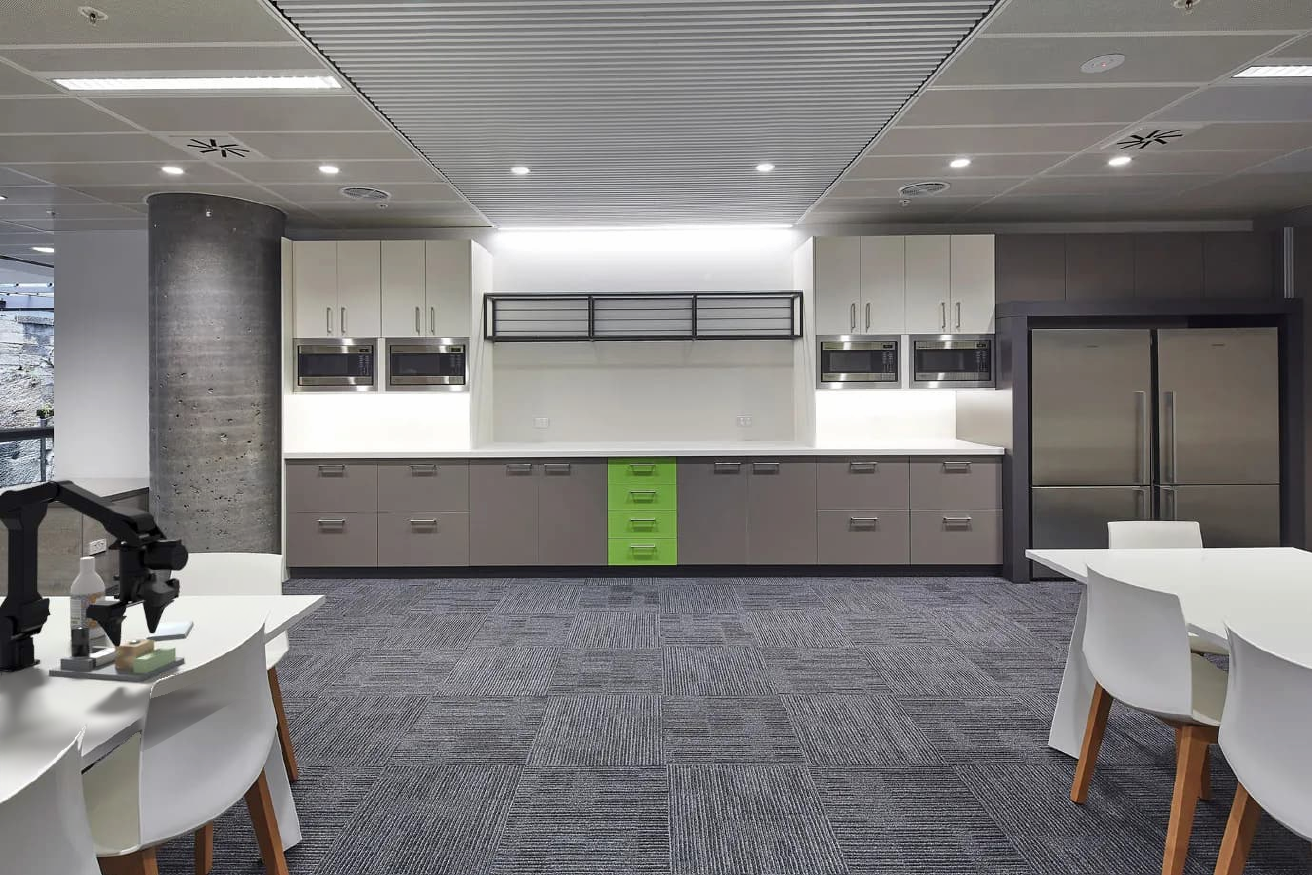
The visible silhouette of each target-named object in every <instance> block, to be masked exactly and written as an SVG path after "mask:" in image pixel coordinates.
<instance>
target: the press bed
mask: <svg viewBox="0 0 1312 875" xmlns="http://www.w3.org/2000/svg"><path fill="white" fill-rule="evenodd" d="M107 648H113V649H115V646H102V645H101V646H100V645H95V646H92V648H91V654H94V653H97V652H99V651H102V650H105V649H107ZM176 651H177V650H176V647H174V646H162V647H159V648H157V649H154V651H151V652H149V653H146V654H144V655H141V656H139V657H136V658H134V669H119V668H115V660H113V661H110V662H108V663H105V664H103V665H100V666H98V667H93V659H84V658H70V656H69V657H68V656H67V657H66V656H64V657H61V658H60V659H59V660H60V662H59V663H60V666H57V667H54V668H51V669H48V675H49V676H61V677H62V676H63V677H74V678H87V679H88V678H89V679H91V678H92V679H100V680H101V679H102V680H103V679H104V680H114V681H116V680H117V681H131V682H143V681H145V680H147V679H149V678H152V677H154V676H156V675H158V674H160V673H163V672H165V671H167V670H169V669H173V668H174V667H176V666H179V665H181V664H183V663H185V657H179V656H176Z"/></svg>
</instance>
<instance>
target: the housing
mask: <svg viewBox="0 0 1312 875" xmlns="http://www.w3.org/2000/svg"><path fill="white" fill-rule="evenodd" d="M114 647H115V668H119V669H134V658H136V657H139V656H141V655H144V654H146V653H149V652H151V651H154V650H155V641H154V640H150V639H146V638H132V639H129V640H126V641H124V642H121V643H120V646H118V647H117V646H114Z"/></svg>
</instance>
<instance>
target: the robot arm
mask: <svg viewBox="0 0 1312 875" xmlns="http://www.w3.org/2000/svg"><path fill="white" fill-rule="evenodd" d="M53 503H60V504H62V505H64V506H67V507H69V508H71V509H72V510H74V511H76V512H78V513H81V514H82V515H84V516H87V517H88V518H90V519H92V520H94V521H97V522H99V524H101V525H102V526H103V527H104V530H105V531H106V532H107V533H108V534H109V535H111V536H113V537H114V538H115V541H114V542H113V543H111V544H110V545H109V546H107V550H109V551H117V552H118V553H117V555H118V556H117V557H118V558H117V559H118V563H117V565H118V566H117V567H118V570H117V571H118V574H117V575H116V574H115V575H113V581H115V582H118V592H117V593H115V594H113V600H106V599H105V600H104V601H100V602H97V603H93V604H90V605H89V606H88V607H87V608H86V618H92V620H93V621H97V622H98V624H99V625H100V626H101V627H102V628H103V630H104V631H105V634H106V636H107V637H108V639H109V640H110V642H111V644H112V645H113V647H115V646H117V647H118V646H120V643H122V642H121V641H122V626H123V625H122V623H123V622H124V621H125V620H126V618H127V617H128V616H127V615H125V613H126V612H127V609H128V608H132V607H135V606H138V605H140V604H142V607H143V611H144V616H145V621H146V626H147V629H148V632H149V634H150V633H152V634H153V633H155V632H156V629H157V626H158V624H160V620H161V619H162V616H163V613H164V612H165V609H166V608H167V607H168V606H170V605H171V604H172V603H174V602H175V599H178V598H179V597H180V592H181V591H180V588H181V585H180V579H178V578H176V577H172V578H168V579H167V580H162V581H161V580H160V581H159V580H158V579H157V574H156V572H155V571H168V572H169V571H170V572H171V571H174V572H177V571H179V572H180V571H182V570H183V569H184V568H185V567H186V566H187V564H188V561H189V555H190V554H189V551H188V549H187V548H186V546H185V545H183V543H182V542H183V541H182V539H180V538H176V539H168V537H167V536H166V535H165V534H164V532H163V531H162V530H161V527H159V525H158V524H157V523H156V521H155V517H154V515H153V514H151V513H150V512H148V511H146V510H142V509H139V508H134V507H130V506H129V507H128V506H123V505H122V506H121V505H118V504H116V503H114V502H112V501H111V500H110V501H109V500H108V499H105V498H103V497H101V496H100V495H98V494H95V493H94V492H92V491H89V490H88V489H86V488H83V487H81V486H79V485H78V484H75V482H73V481H72V480H71V479H70V480H69V479H67V478H64V479H55V480H48V481H46V482H44V483H41V484H39V485H35V486H31V487H25V488H17V489H16V488H15V489H7V490H5V491H3V492H2V493H1V494H0V521H1V522H2V524H3V525H4V526H5V528H6V529H7V595H6V596H5V598H4V600H3V601H2V602H1V605H0V672H15V671H18V670H21V669H23V668H26V667H27V668H28V667H30V666H32V665H33V666H34V665H35V664H38V663H41V659H37V658H35V644H34V637H33V636H35V635H39V634H40V633H41V632H42V630H43V626H44V625H45V624H46V623H47V621H48V617H49V616H51V615H52V613H51V611H50V603H51V600H50V598H49V597H43V596H42V595H41V594H40V592H39V590H38V574H39V573H38V565H39V564H38V561H39V560H38V558H39V557H38V555H39V554H38V553H39V548H38V546H39V543H38V542H39V540H38V539H39V536H38V535H39V528H40V525H41V524H42V522H43V521H44V519H45V517H46V516H47V512H48V506H49V505H50V504H53ZM153 571H154V572H153Z"/></svg>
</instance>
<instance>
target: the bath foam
mask: <svg viewBox="0 0 1312 875" xmlns="http://www.w3.org/2000/svg"><path fill="white" fill-rule="evenodd" d="M104 600H106V586H105V582H104V580H103V579H102V578H101V576H100V575H99V574H98V573H97V572H96V559H95V556H83V557H81V558H80V559H79V573H78V575H77V576H76V578H75V579H74V580H73V582H72V584H71V587H70V592H69V612H70V614H69V615H70V616H69V620H70V621H69V622H70V623H69V624H70V625H69V626H70V630H71V629H72V628H74V627H79V626H89V636H90V640H94V639H97V638H100V637H102V636H105V634H106V633H105V631H104V630H103V628H102V627H101V626H100V625H99V624H98V622H97V621H93V620H92V618H86V608H87V607H88V606H89V605H90V604H93V603H97V602H100V601H104Z"/></svg>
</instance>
